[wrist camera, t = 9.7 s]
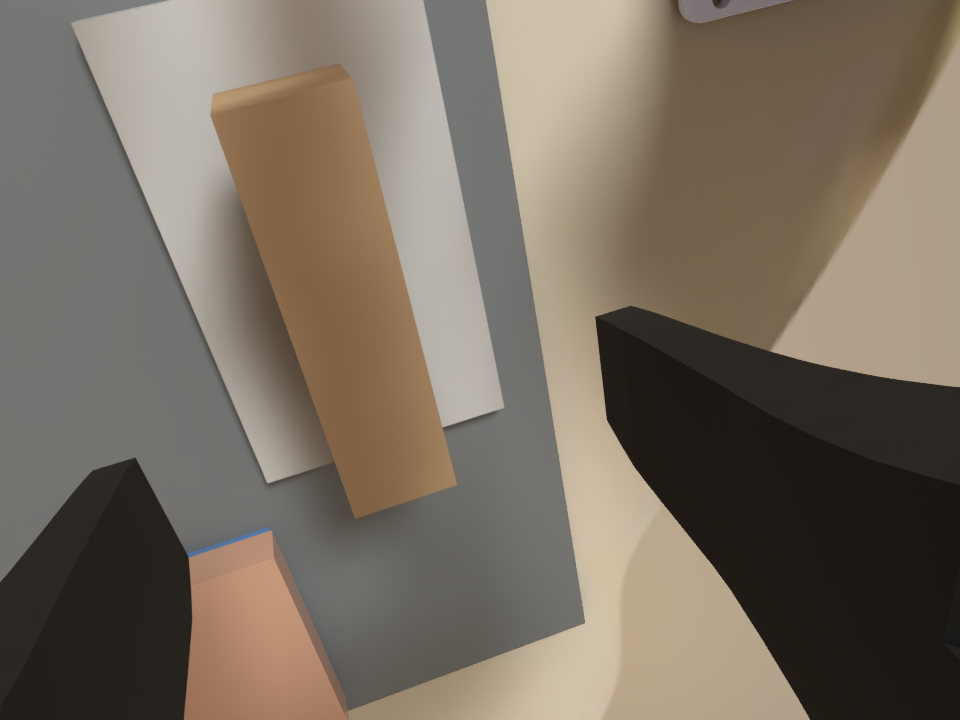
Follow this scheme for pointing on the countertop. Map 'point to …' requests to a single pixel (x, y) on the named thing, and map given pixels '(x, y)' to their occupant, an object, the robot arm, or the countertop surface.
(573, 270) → the countertop surface
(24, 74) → the mat
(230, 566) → the tile
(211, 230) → the trowel
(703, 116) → the countertop surface
